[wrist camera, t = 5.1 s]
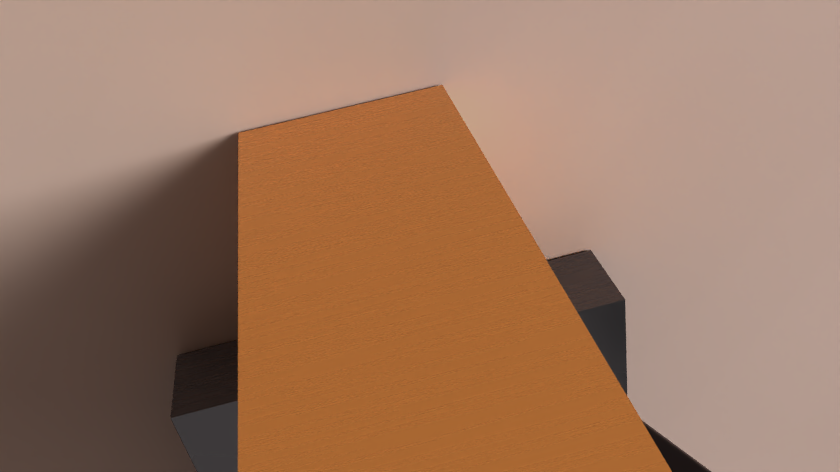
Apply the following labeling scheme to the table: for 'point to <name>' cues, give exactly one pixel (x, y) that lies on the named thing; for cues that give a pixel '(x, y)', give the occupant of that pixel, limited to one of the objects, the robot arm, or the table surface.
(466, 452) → the orange grey l-shaped block
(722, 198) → the table surface
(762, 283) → the table surface
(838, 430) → the table surface
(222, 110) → the table surface
